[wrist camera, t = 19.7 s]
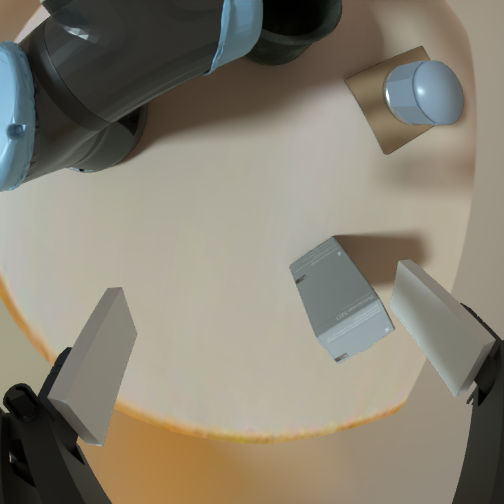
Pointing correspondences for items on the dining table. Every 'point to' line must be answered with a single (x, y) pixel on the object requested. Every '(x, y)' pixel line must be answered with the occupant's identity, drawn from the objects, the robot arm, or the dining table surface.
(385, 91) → the stud
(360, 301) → the skincare box
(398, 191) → the dining table surface
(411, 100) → the cap
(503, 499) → the robot arm
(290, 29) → the mug
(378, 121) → the base board
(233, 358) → the dining table surface
